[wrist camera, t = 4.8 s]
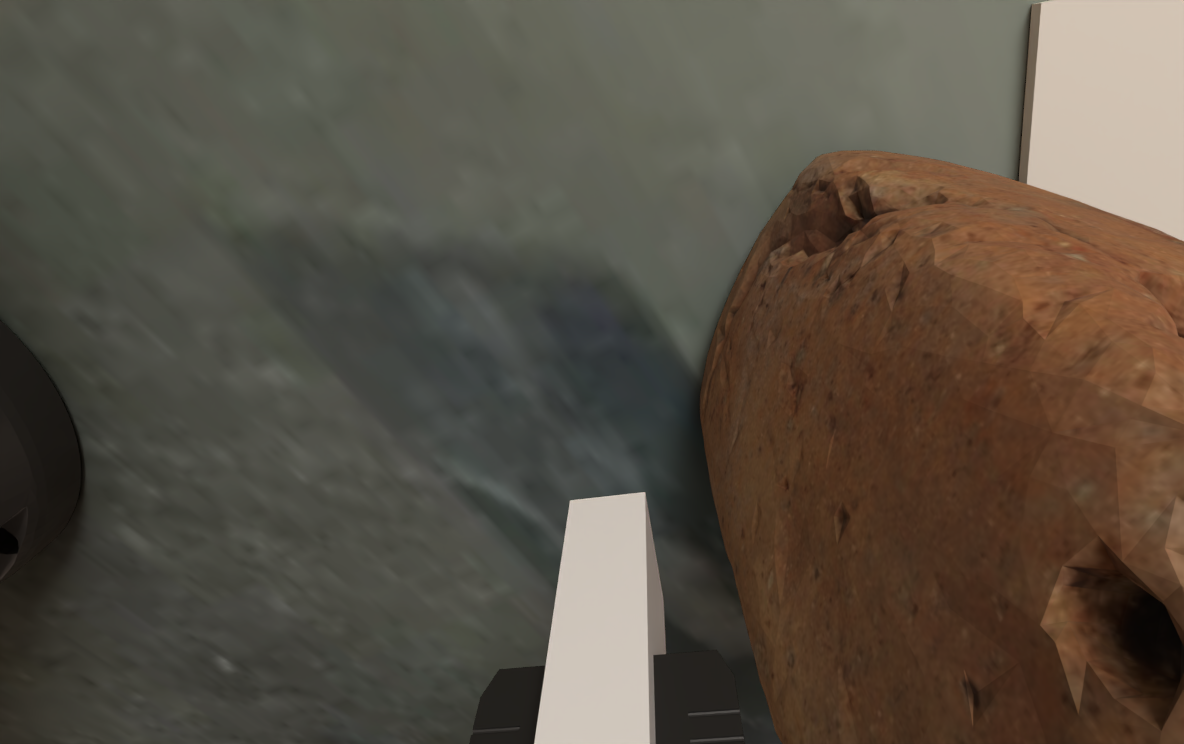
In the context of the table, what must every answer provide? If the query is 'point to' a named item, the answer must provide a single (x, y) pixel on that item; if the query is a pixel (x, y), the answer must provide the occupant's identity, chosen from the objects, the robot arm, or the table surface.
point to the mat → (1108, 107)
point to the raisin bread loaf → (954, 460)
